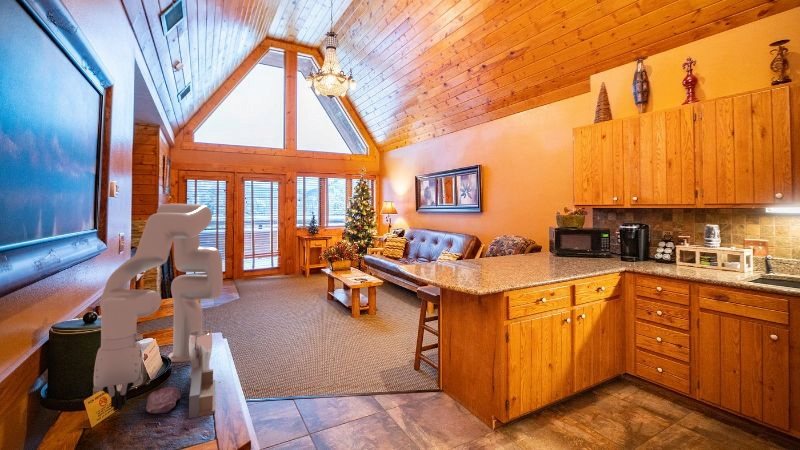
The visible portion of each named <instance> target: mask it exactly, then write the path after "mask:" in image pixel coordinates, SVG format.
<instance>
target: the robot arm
mask: <svg viewBox="0 0 800 450" xmlns="http://www.w3.org/2000/svg"><path fill="white" fill-rule="evenodd" d="M212 220H213V213H212V210H211V208H210V207H209V206H207V205H205V204H198V203H197V204H196V203H195V204H193V203H190V204H189V203H164V204H161V205H159V206H158V208H157V210H156V213H153V214H151V215H150V216H149V217H148V218H147V220H146V224H145V227H144V228H143V232H142V235H141V237H140V240H139V243H138V246H137V248H136V251H135V254H134V255H132V256H131V257H130V258H129V259H127V260H126V261H125V262H123V263H122V264H121V265H119V266H118V267H117V269H115V270H114V271H113V272H112V273H111V275H109V277H108V279H107V282H105V287H104V288H103V291H102V293H101V297H100V303H99V308H100V310H101V312H100V317H101V318H100V322H101V323H100V347H99V348H98V350H97V353H96V356H95V357H96V358H95V361H94V362H95V363H94V368H93V369H94V370H93V371H94V372H93V387H92V391H93V392H104V393H105V394H107V395H108V396H109V397H110V407H111V408H113V412H117V411H122V409H123V407H124V406H125V405H127V393H128V392H129V390H131V389H132V388H133V387H135V386H139V385H141V384H143V382H144V379H143V371H144V363H143V352H142V351H143V350H142V345H141V343H140V342H139V341H142V340H143V339H144V338H143V337H144V335H143V334H139V333H138V332H137V321H138V319H140V318H143V317H144V318H145V317H147V316H150V315H152V314H154V313H156V312H157V311H158V310H159V309H160V307H161V304H162V296H161V294H160V293H159V292H158V291H156V290H152V289H125V288H126V286H127V284H128V283H129V282H130V281H131V280H132V279H133V278H135V277H136V276H138V275H139V274H141V273H145V272H146V271H149V270H151V269H153V268H156V267H159V266H161V265H164V264H166V262H167V261H168V259H169V256H170V252H171V250H172V245H173V257H174V258H173V259H174V265H175V266H174V267H175V268H176V270H178V271H179V272H181V273H182V272H183V273H204V274H181V275H179V276H176V277H175V278H173V280H172V281H171V285H170V292H171V296H172V304H173V326H172V327H173V329H172V330H173V333H172V334H173V335H172V336H173V338H172V340H173V341H172V342H173V343H172V352H170V353H169V354H168V356H167V358H168V357H169V358H170V359H171V361H170V362H172V363H186V362H187V363H188V362H191V360H190V355H189V338H190V333H191V332H193V331H197V330H203V307H202V305H201V304H200V302H199V300H201V301H202V300H203V301H204V300H207V301H208V300H209V301H211V300H216V299H217V300H218V298H219V297H221V295H222V294H223V287H224V284H223V283H224V280H223V279H224V278H223V277H224V276H223V274H224V273H223V257H222V253H221V251H220V250H219V249H218V248H216V247H210V246H209V247H208V246H207V247H203V246H201V241H200V240H201V239H200V234H201V233H202V232H203V231H204V230H206V229H207V228H208V227H209V225H211V222H212ZM120 385H121V388H120V391H119V390H118V386H120Z"/></svg>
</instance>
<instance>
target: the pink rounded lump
mask: <svg viewBox="0 0 800 450" xmlns="http://www.w3.org/2000/svg"><path fill="white" fill-rule="evenodd" d="M181 397H182V393H181V391H180V390H179V389H178V388H177V387H176V386H167V387H164V388H160V389H158V390H155V391H152V392H151V393H150V394H149V395H148V397H147V399H146V406H145V407H146V410H145V411H146V412H147V413H150V414H163V413H164V414H165V413H168V412H170V411H171V410H172V409H174V407H175V406H176V402H177V401H179V400H180V399H181Z"/></svg>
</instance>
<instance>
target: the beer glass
mask: <svg viewBox="0 0 800 450" xmlns="http://www.w3.org/2000/svg"><path fill="white" fill-rule="evenodd" d="M212 331H213V330H212V329H211V330H210V329H202V330H197V331H193V332H191V333H190V338H189V355H190V360H191V361H190V364H191V366H190V367H191V368H190V375H189V379H190V380H191V381H192V375H193V368H194V367H201V366H202V371H204V370H211V369H210V362H211V361H210V360H211V356H212V351H213V332H212Z"/></svg>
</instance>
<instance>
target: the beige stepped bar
mask: <svg viewBox="0 0 800 450" xmlns="http://www.w3.org/2000/svg"><path fill="white" fill-rule="evenodd" d="M188 397H189V399H188V400H189V401H188V419H193V418H197V417H202V416H207V415H211V414H215V413H216V379H214V369H213V368H212V369H210V370H204V371H202V366H201V367H194V368H193V375H192V380H191V382H190V389H189V395H188Z"/></svg>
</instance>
